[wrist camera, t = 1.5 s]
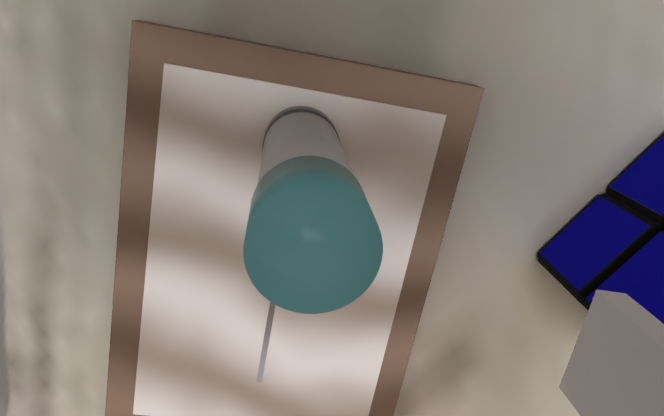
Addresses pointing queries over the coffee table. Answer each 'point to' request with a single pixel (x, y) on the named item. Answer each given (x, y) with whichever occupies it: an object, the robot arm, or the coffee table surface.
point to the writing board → (231, 222)
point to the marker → (309, 219)
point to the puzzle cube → (617, 239)
